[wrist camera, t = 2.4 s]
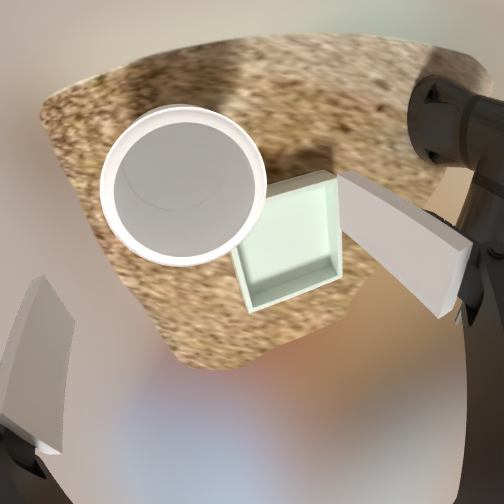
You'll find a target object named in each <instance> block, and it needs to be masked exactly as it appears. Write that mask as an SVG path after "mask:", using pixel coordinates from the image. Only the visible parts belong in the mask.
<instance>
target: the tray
mask: <svg viewBox="0 0 504 504" xmlns="http://www.w3.org/2000/svg"><path fill="white" fill-rule="evenodd" d="M229 255H230V258H231V262H232V265H233V269H234V272H235V275H236V279H237V282H238V286H239V289H240V292H241V296H242V299H243V301H244V303H245V305H246V308H247V310H248V312H249V313H252V312H255V311H257V310H260V309H263V308H265V307H268V306H271V305H273V304H276V303H279V302H281V301H284V300H287V299H289V298H292V297H294V296H297V295H300V294H302V293H305V292H307V291H310V290H312V289H315V288H317V287H320V286H322V285H325V284H327V283H330V282H332V281H335V280H337V279H339V278H342V230H341V229H340V216H339V197H338V181H337V176H335V175H333V174H332V173H330V172H328V171H326V170H324V169H323V170H319V171H316V172H312V173H308V174H304V175H301V176H297V177H293V178H290V179H286V180H283V181H279V182H276V183H272V184H269V185H267V191H266V198H265V203H264V207H263V210H262V212H261V215H260V217H259V219H258V221H257V223H256V225H255V226H254V228H253V229H252V231H251V232H250V233H249V235H248V236H247V237H246V238H245V239H244V240H243V241H242V242H241V243H240V244H239V245H238V246H237V247H235V248H234V249H233V250H231V251H230V252H229Z"/></svg>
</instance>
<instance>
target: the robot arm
mask: <svg viewBox="0 0 504 504" xmlns="http://www.w3.org/2000/svg"><path fill="white" fill-rule="evenodd" d="M408 131H409V136H410V140H411V143H412V146H413V148H414V150H415V152H416V153H417V154H418V156H419V157H420V158H421V159H423V160H424V161H426V162H428V163H431V164H433V165H435V166H440V167H462V168H468V169H470V170H473V171H475V172H474V175H473V178H472V182H471V184H470V188H469V191H468V194H467V196H466V199H465V202H464V205H463V207H462V210H461V213H460V215H459V218H458V220H457V223H456V225H455V226H452V224H450V223H449V222H448V221H446V220H445V221H444V219H443V218H441V217H440V216H438V215H437V214H435V213H433V212H430V211H427V210H424V209H420V208H419V207H417V206H415V205H414V204H412V203H410V202H409V201H407V200H405V199H404V198H402V197H400V196H398V195H397V194H395V193H393V192H391V191H390V190H388V189H386V188H384V187H382V186H380V185H379V184H377V183H375V182H373V181H371V180H369V179H367V178H365V177H363V176H362V175H360V174H358V173H356V172H354V171H352V170H350V171H347V172H343V173H339V174H337V181H338V197H339V216H340V229H341V230H342V231H343V232H345V233H346V234H347V235H348V236H349V237H350V238H352V239H353V240H354V241H355V242H356V243H357V244H359V245H360V246H361V247H362V248H363V249H364V250H366V251H367V252H368V253H369V254H370V255H371V256H372V257H373V258H375V259H376V260H377V261H378V262H379V263H380V264H381V265H383V266H384V267H385V268H386V269H387V270H388V271H389V272H390V273H391V274H392V275H393V276H395V277H396V278H397V279H398V280H399V281H400V282H401V283H402V284H403V285H404V286H405V287H406V288H407V289H408V290H410V291H411V292H412V293H413V294H414V295H415V296H416V297H417V298H418V299H419V300H420V301H421V302H422V303H423V304H424V305H425V306H426V307H427V308H428V309H429V310H430V311H431V312H432V313H433V314H434V315H435V316H436V317H437V318H438V319H439V318H441V317H442V316H444V315H445V314H446V313H448V312H449V311H451V310H452V309H453V307H454V304H455V301H456V298H457V296H458V297H459V298H460V299H461V300H462V304H461V307H460V309H459V312H458V314H457V317H456V319H455V324H458V322H459V319H460V317H461V316H462V323H461V325H463V331H464V340H465V352H466V369H467V423H466V437H465V449H464V458H463V467H462V473H461V479H460V485H459V490H458V495H457V498H456V500H455V502H454V503H453V504H504V101H501V100H498V99H494V98H490V97H486V96H482V95H479V94H476V93H474V92H473V91H471V90H469V89H468V88H466V87H465V86H463V85H461V84H459V83H458V82H456V81H454V80H453V79H450V78H448V77H443V76H436V75H432V76H428V77H426V78H424V79H423V80H422V81H421V82H420V83H419V84H418V85H417V87H416V88H415V90H414V92H413V94H412V97H411V100H410V104H409V110H408ZM74 326H75V320H74V319H73V317H72V316H71V314H70V313H69V312H68V310H67V309H66V307H65V306H64V304H63V303H62V302H61V300H60V299H59V297H58V296H57V294H56V293H55V291H54V290H53V288H52V287H51V285H50V284H49V282H48V280H47V279H46V277H45V276H44V275H43V276H41V277H38V278H36V279H34V280H32V281H31V283H30V285H29V288H28V290H27V292H26V294H25V297H24V299H23V301H22V304H21V306H20V309H19V311H18V314H17V316H16V319H15V322H14V324H13V327H12V330H11V333H10V335H9V338H8V341H7V344H6V347H5V351H4V353H3V357H2V360H1V363H0V504H73V503H72V502H71V501H70V499H69V498H68V497H67V495H66V494H65V493H64V491H63V490H62V489H61V487H60V486H59V484H58V483H57V482H56V480H55V479H54V477H53V476H52V474H51V473H50V472H49V470H48V469H47V467H46V466H45V464H44V462H43V461H42V460H41V459H40V457H39V456H37V455H35V448H37V449H38V450H40V451H42V452H44V453H45V454H48V455H49V454H62V430H63V410H64V397H65V386H66V377H67V369H68V362H69V355H70V348H71V342H72V336H73V331H74Z"/></svg>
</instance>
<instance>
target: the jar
mask: <svg viewBox="0 0 504 504" xmlns="http://www.w3.org/2000/svg"><path fill="white" fill-rule="evenodd" d="M266 191H267V179H266V171H265V166H264V163H263V160H262V157H261V155H260V152H259V150H258V148H257V147H256V145H255V143H254V142H253V140H252V139H251V138H250V137H249V135H248V134H247V133H246V132H245V131H244V130H243V129H242V128H241V127H240V126H238V125H237V124H236V123H235V122H233V121H232V120H230V119H228V118H227V117H225V116H223V115H221V114H218V113H216V112H213V111H210V110H207V109H204V108H202V107H198V106H194V105H189V104H170V105H165V106H161V107H158V108H155V109H153V110H150V111H148V112H147V113H145V114H143V115H142V116H140V117H139V118H138V119H136V120H135V121H134V122H133V123H132V124H131V125H130V126H129V127H128V128H127V130H126V131H125V132H124V133H123V134H122V135H121V136H120V137H119V138H118V140H117V141H116V142H115V144H114V145H113V147H112V148H111V150H110V152H109V154H108V156H107V158H106V160H105V163H104V166H103V169H102V173H101V179H100V199H101V205H102V209H103V212H104V215H105V218H106V220H107V222H108V224H109V226H110V228H111V230H112V231H113V233H114V234H115V235H116V237H117V238H118V239H119V240H120V241H121V242H122V243H123V244H124V245H125V246H126V247H127V248H128V249H130V250H131V251H132V252H134V253H135V254H137V255H139V256H140V257H142V258H144V259H147V260H149V261H152V262H155V263H158V264H162V265H167V266H178V267H183V266H194V265H199V264H204V263H207V262H210V261H213V260H215V259H217V258H220V257H222V256H223V255H225V254H227V253H228V252H230V251H231V250H233V249H234V248H235V247H237V246H238V245H239V244H240V243H241V242H242V241H243V240H244V239H245V238H246V237H247V236H248V235H249V233H250V232H251V231H252V229H253V228H254V226H255V225H256V223H257V221H258V219H259V217H260V215H261V212H262V210H263V207H264V203H265V198H266Z"/></svg>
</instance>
